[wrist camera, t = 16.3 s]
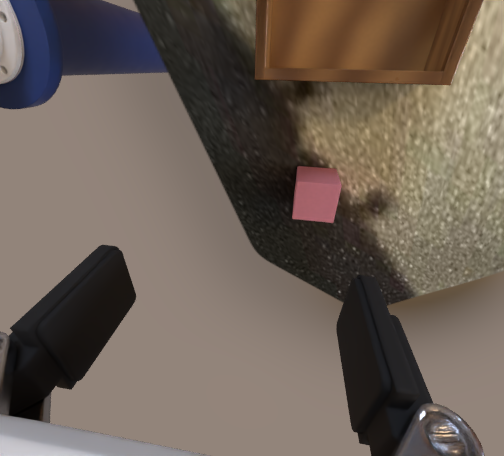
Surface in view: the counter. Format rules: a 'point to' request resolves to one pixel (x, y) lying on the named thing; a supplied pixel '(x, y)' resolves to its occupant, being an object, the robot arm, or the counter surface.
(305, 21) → the crate
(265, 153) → the counter surface
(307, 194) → the block
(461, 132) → the counter surface
